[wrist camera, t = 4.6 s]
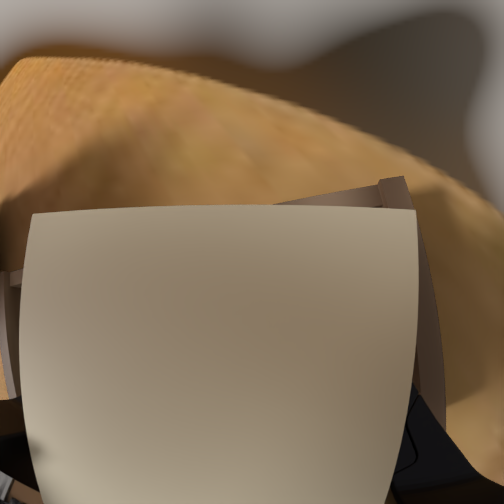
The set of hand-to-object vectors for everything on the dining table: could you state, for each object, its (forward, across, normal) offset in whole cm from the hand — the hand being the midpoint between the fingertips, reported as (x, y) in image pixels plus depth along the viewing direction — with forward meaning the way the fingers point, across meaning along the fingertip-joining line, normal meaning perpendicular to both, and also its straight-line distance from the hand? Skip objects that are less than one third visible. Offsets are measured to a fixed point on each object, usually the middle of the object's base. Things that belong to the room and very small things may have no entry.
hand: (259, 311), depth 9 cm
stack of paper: (+3, 0, +5) cm, 6 cm away
